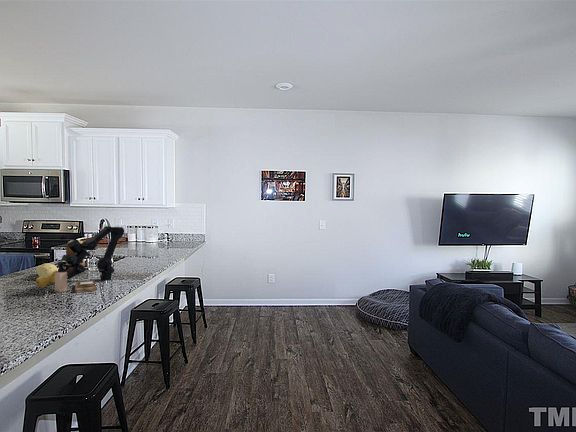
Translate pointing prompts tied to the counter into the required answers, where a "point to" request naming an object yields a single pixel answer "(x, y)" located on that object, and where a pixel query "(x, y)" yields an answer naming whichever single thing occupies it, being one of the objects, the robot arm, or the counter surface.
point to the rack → (85, 287)
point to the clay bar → (61, 281)
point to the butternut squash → (69, 252)
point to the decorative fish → (46, 280)
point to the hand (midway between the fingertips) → (62, 278)
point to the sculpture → (46, 269)
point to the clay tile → (86, 282)
